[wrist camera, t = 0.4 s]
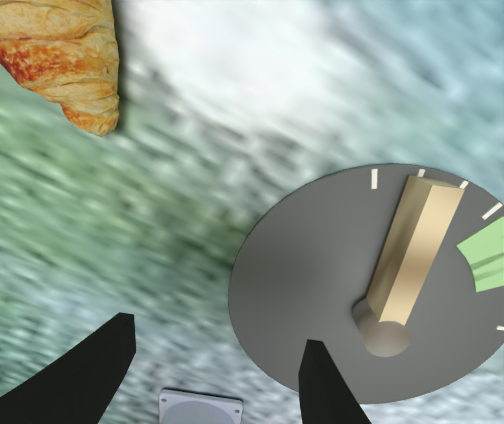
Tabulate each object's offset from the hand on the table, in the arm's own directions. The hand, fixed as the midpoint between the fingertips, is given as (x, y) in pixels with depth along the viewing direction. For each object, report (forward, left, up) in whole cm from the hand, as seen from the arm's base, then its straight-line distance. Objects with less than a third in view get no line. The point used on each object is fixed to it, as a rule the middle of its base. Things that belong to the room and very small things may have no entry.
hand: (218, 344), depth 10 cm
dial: (-3, -10, -8) cm, 13 cm away
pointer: (+1, -10, -7) cm, 12 cm away
